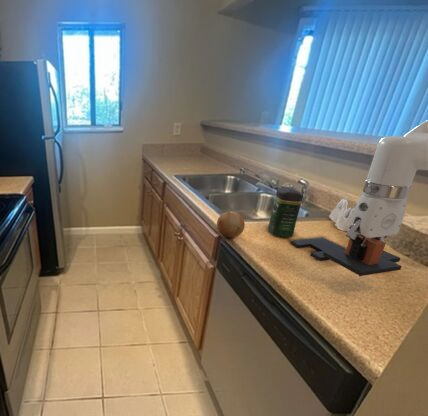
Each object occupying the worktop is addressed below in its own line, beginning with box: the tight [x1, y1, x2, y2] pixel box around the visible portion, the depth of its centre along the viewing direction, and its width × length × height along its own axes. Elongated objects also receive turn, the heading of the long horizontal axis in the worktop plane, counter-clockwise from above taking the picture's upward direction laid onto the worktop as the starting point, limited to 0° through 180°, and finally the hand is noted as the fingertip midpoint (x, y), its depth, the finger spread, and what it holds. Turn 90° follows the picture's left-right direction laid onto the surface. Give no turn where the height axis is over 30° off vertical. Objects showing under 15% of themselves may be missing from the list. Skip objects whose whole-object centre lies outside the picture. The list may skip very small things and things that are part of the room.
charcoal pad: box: [289, 236, 347, 262], centre depth 96 cm, size 14×12×1 cm
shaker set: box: [328, 198, 355, 233], centre depth 112 cm, size 12×4×11 cm, turn 162°
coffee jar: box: [267, 185, 304, 239], centre depth 105 cm, size 10×8×19 cm
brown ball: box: [216, 211, 246, 238], centre depth 105 cm, size 10×10×10 cm
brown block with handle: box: [323, 235, 402, 277], centre depth 71 cm, size 16×10×7 cm, turn 100°
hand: (361, 256), depth 72 cm, fingers closed on brown block with handle, 3 cm apart
